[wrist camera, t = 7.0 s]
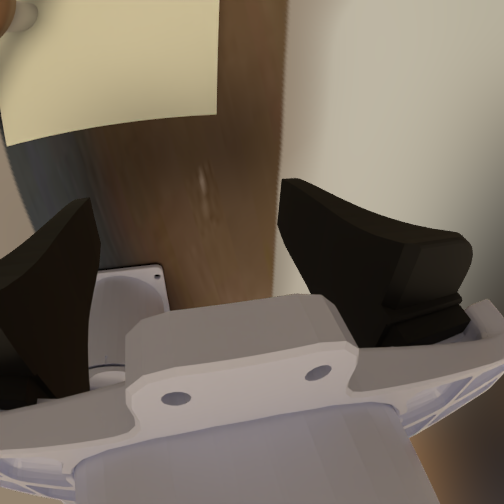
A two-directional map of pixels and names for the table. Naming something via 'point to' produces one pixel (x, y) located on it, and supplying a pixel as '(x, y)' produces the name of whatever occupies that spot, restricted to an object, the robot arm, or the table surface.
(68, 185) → the table surface
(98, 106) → the cream shape sorter
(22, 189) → the table surface
